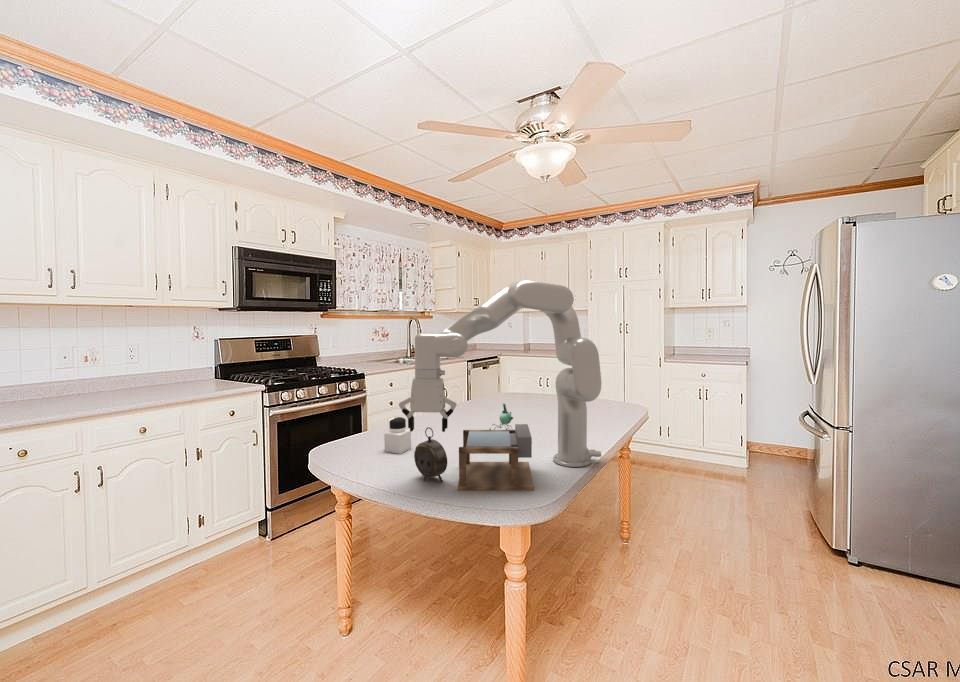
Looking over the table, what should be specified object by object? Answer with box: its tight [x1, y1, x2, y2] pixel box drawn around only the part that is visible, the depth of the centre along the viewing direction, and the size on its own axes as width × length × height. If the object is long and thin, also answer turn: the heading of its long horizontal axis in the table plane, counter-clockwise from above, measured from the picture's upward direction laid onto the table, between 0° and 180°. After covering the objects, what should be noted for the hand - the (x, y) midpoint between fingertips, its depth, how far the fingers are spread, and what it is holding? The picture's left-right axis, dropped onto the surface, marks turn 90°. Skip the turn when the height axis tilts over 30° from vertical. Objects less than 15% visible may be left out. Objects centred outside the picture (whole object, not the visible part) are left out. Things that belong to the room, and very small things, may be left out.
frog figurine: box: [489, 403, 514, 430], centre depth 181 cm, size 10×18×15 cm, turn 101°
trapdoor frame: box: [456, 429, 535, 491], centre depth 138 cm, size 22×21×12 cm
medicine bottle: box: [383, 416, 412, 455], centre depth 165 cm, size 7×7×12 cm
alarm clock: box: [413, 426, 448, 483], centre depth 135 cm, size 11×5×16 cm, turn 48°
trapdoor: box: [466, 423, 533, 459], centre depth 137 cm, size 19×16×6 cm
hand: (427, 430), depth 134 cm, fingers open, 9 cm apart
